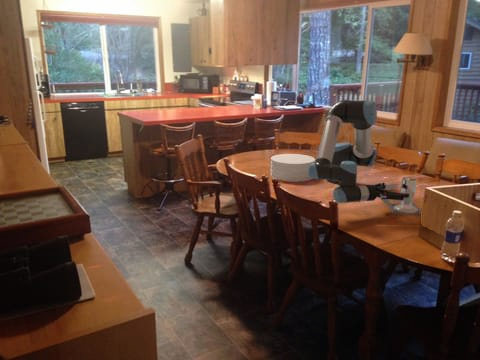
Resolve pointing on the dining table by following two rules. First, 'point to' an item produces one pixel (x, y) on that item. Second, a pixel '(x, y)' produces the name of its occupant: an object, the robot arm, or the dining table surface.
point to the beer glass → (408, 186)
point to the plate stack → (291, 167)
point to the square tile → (394, 201)
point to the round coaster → (397, 208)
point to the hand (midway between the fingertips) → (405, 190)
